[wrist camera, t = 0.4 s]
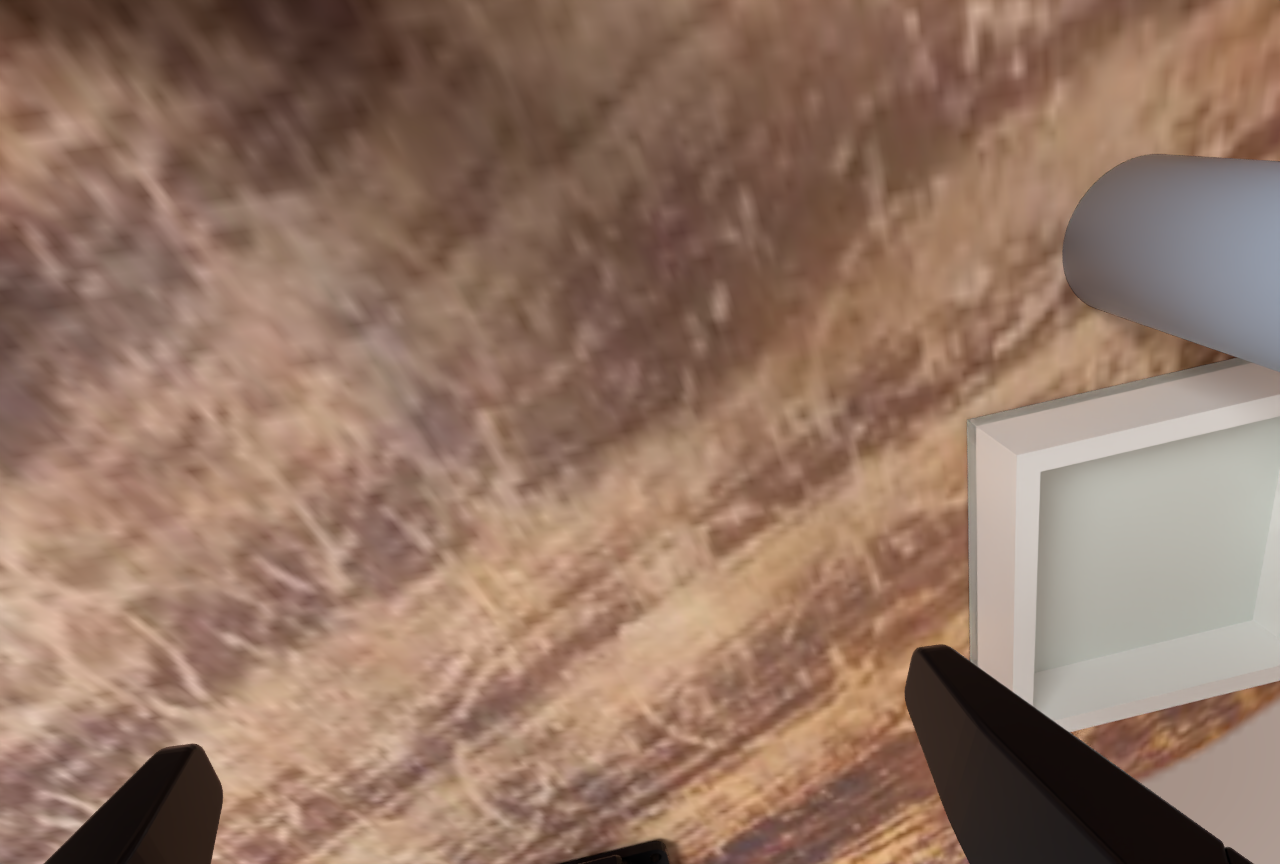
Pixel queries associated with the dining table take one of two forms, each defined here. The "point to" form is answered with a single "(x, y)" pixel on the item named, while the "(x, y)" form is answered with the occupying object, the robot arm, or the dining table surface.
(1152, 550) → the shallow square tray
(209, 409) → the dining table surface
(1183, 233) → the slate capsule
